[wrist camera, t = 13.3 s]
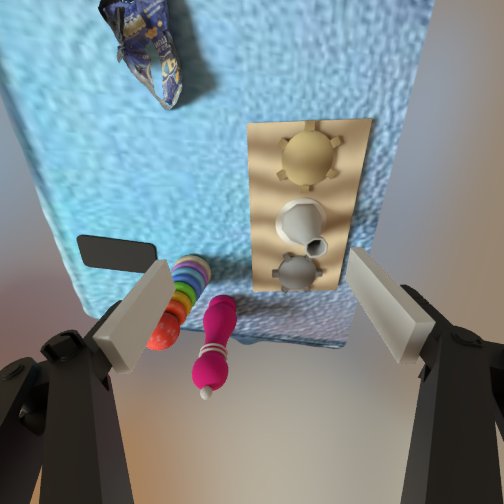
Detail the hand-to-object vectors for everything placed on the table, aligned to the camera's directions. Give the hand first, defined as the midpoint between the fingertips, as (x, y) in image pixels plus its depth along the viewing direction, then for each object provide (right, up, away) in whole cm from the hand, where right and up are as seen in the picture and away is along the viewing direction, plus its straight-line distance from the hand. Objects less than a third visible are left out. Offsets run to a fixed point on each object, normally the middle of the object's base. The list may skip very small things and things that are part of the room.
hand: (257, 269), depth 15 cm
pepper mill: (-7, -11, +34) cm, 36 cm away
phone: (-28, +1, +28) cm, 39 cm away
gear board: (+8, +7, +23) cm, 26 cm away
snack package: (-14, +28, +13) cm, 34 cm away
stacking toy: (-13, -2, +29) cm, 32 cm away
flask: (+8, +7, +22) cm, 24 cm away
